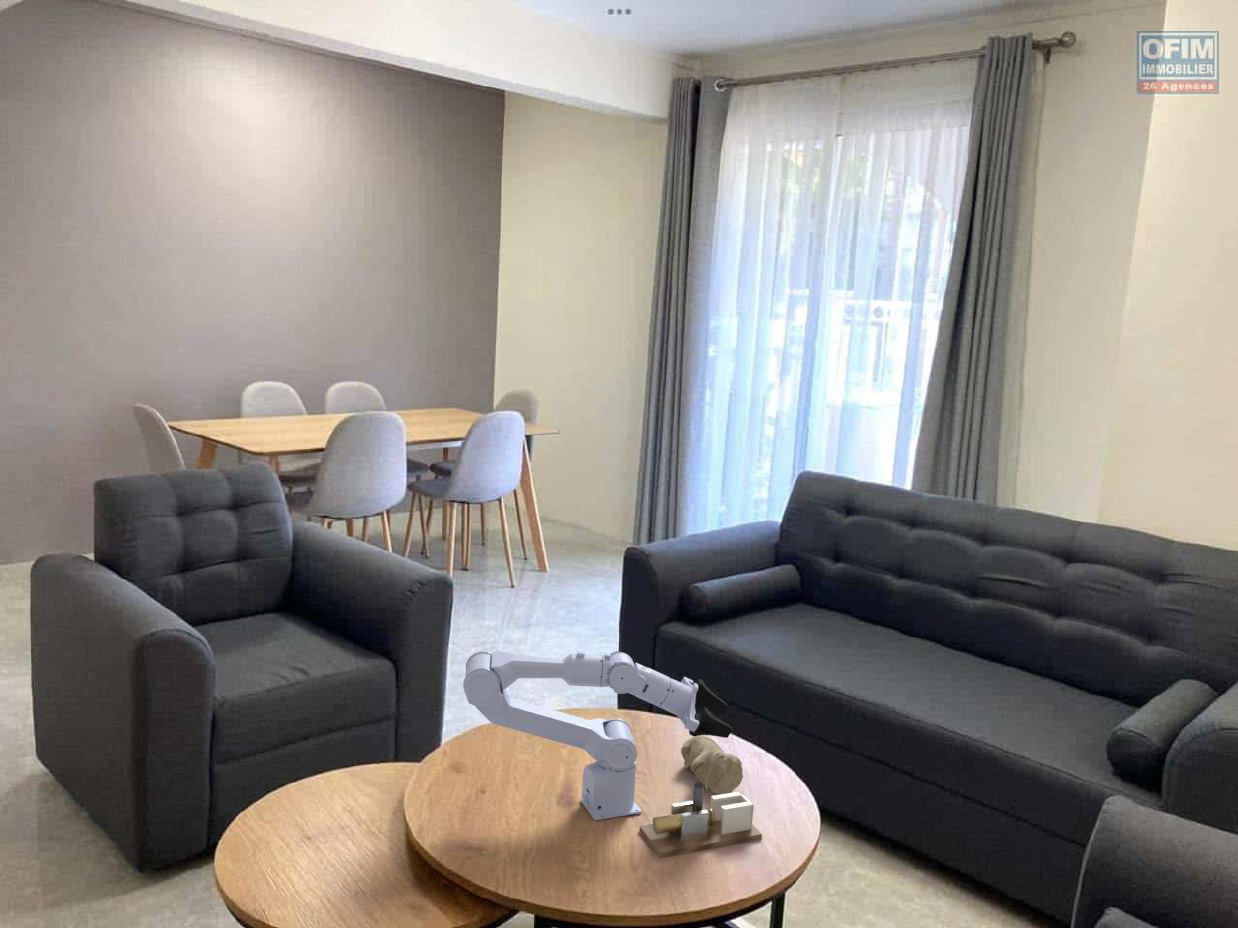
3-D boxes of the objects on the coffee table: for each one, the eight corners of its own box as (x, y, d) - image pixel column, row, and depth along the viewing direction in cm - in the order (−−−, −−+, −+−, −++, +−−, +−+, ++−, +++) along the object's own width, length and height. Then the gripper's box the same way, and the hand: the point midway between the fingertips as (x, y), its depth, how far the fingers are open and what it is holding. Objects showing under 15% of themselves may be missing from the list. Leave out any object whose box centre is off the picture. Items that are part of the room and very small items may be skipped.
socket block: (722, 834, 177) (724, 809, 176) (709, 820, 181) (710, 795, 181) (751, 829, 179) (753, 804, 178) (738, 815, 184) (739, 791, 183)
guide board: (660, 857, 170) (662, 827, 169) (639, 831, 178) (641, 802, 178) (761, 838, 178) (764, 809, 177) (737, 814, 186) (739, 786, 185)
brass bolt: (658, 837, 173) (661, 791, 172) (652, 829, 176) (654, 783, 174) (714, 827, 177) (718, 782, 176) (707, 819, 180) (710, 775, 179)
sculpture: (692, 789, 189) (728, 751, 189) (667, 747, 205) (701, 712, 205) (721, 815, 191) (758, 778, 191) (695, 772, 208) (729, 737, 208)
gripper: (676, 696, 176) (743, 727, 178) (671, 654, 190) (733, 683, 192) (657, 727, 178) (723, 756, 180) (654, 683, 192) (715, 711, 194)
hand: (727, 720), depth 186 cm, fingers open, 7 cm apart
